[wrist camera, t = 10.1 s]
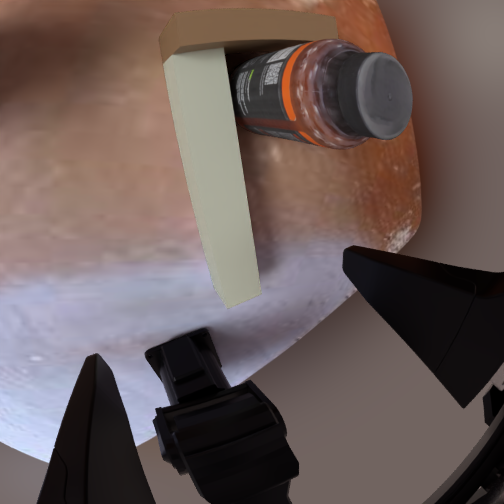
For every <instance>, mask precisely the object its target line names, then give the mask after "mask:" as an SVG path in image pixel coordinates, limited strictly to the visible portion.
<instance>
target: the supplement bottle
mask: <svg viewBox="0 0 504 504" xmlns="http://www.w3.org/2000/svg"><path fill="white" fill-rule="evenodd" d="M229 85H230V91H231V98H232V104H233V111H234V117H235V121H236V122H237V123H238V124H239V125H240V126H242V127H243V128H244V129H246V130H248V131H251V132H253V133H257V134H260V135H266V136H272V137H278V138H283V139H288V140H294V141H298V142H303V143H308V144H313V145H317V146H322V147H327V148H332V149H349V148H353V147H356V146H358V145H360V144H362V143H364V142H365V141H366V140H368V139H369V138H370V137H373V138H377V139H382V140H390V139H393V138H396V137H397V136H399V135H400V134H401V133H402V132H403V131H404V129H405V128H406V126H407V124H408V122H409V119H410V116H411V111H412V101H413V98H412V90H411V86H410V81H409V79H408V76H407V74H406V72H405V70H404V68H403V67H402V65H401V64H400V63H399V62H398V61H397V60H396V59H395V58H394V57H392V56H391V55H388V54H386V53H382V52H371V53H365V52H364V51H363V50H362V49H361V48H359V47H358V46H356V45H354V44H352V43H350V42H348V41H344V40H341V39H323V40H318V41H314V42H308V43H304V44H300V45H296V46H292V47H288V48H285V49H281V50H278V51H274V52H271V53H268V54H264V55H261V56H258V57H255V58H252V59H250V60H247V61H245V62H244V63H242V64H241V65H239V66H238V67H237V68H236V69H235V70H234V71H233V73H232V75H231V76H230V78H229Z"/></svg>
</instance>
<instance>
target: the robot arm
mask: <svg viewBox="0 0 504 504" xmlns="http://www.w3.org/2000/svg"><path fill="white" fill-rule="evenodd" d="M342 268H343V271H344V273H345V274H346V276H347V277H348V278H349V279H350V281H351V282H352V283H353V284H354V286H355V287H356V288H357V290H358V291H359V292H360V293H361V295H362V296H363V297H364V298H365V300H366V301H367V302H368V303H369V304H370V305H371V306H372V307H373V308H374V309H375V310H376V311H377V312H378V314H379V315H380V316H382V318H383V319H384V320H385V321H386V322H387V323H388V324H389V325H390V326H391V327H392V328H393V329H394V331H395V332H396V333H397V334H398V335H399V336H400V337H401V338H402V339H403V340H404V341H405V342H406V344H407V345H408V346H409V347H410V348H411V349H412V350H413V351H414V352H415V354H416V355H417V356H418V357H419V358H420V359H421V360H422V361H423V362H424V364H425V365H426V366H427V367H428V368H429V369H430V370H431V372H432V373H433V374H434V375H435V376H436V377H437V379H438V380H439V381H440V382H441V383H442V385H444V387H445V388H446V389H447V390H448V392H449V393H450V394H451V395H452V396H453V398H454V399H455V400H456V401H457V402H458V404H459V405H460V406H461V407H462V408H465V407H466V406H467V405H468V404H469V403H470V402H471V401H472V400H473V399H474V398H475V397H476V395H477V394H478V393H479V392H480V391H481V390H482V389H483V388H484V386H485V385H486V384H487V383H488V382H489V381H490V382H491V383H492V384H491V386H490V388H489V389H488V391H487V392H486V394H485V395H484V396H483V405H484V417H485V423H486V424H487V425H488V426H489V428H488V429H487V431H486V432H485V433H484V435H483V436H482V438H481V439H480V440H479V442H478V443H477V445H476V446H475V447H474V448H473V450H472V451H471V452H470V453H469V455H468V456H467V457H466V458H465V459H464V461H463V462H462V463H461V464H460V466H459V467H458V468H457V469H456V470H455V471H454V472H453V473H452V474H451V476H450V477H449V478H448V479H447V480H446V481H445V482H444V483H443V484H442V485H441V486H440V487H439V488H438V489H437V490H436V491H435V492H434V493H433V494H432V495H431V496H430V497H429V498H428V499H427V500H426V501H425V502H424V503H423V504H504V272H499V273H498V272H489V271H482V270H476V269H469V268H463V267H457V266H452V265H447V264H443V263H438V262H434V261H429V260H425V259H420V258H415V257H410V256H405V255H400V254H396V253H391V252H386V251H381V250H376V249H371V248H366V247H361V246H355V245H352V246H350V247H348V248H346V249H345V250H344V252H343V265H342ZM203 333H205V334H203ZM149 355H150V356H149ZM145 358H146V359H147V361H148V362H149V364H150V365H151V367H152V368H153V370H154V371H155V373H156V374H157V376H158V377H159V378H160V380H161V381H162V383H163V385H164V388H165V390H166V393H167V396H168V399H169V402H170V405H171V406H167V407H163V408H161V407H159V408H155V410H156V414H157V416H155V419H154V420H153V424H154V427H155V430H156V433H157V436H158V441H159V446H160V451H161V455H162V458H163V460H164V461H166V462H168V463H170V464H172V465H173V467H174V468H176V469H177V471H178V473H179V474H180V475H185V474H189V475H190V477H191V479H192V481H193V483H194V485H195V487H196V489H197V491H198V493H199V494H200V496H202V497H203V498H205V499H206V500H207V501H208V502H209V503H211V504H292V502H291V501H290V499H289V497H288V493H289V488H290V482H291V479H293V478H295V477H297V476H298V475H299V462H298V460H297V459H296V457H295V456H294V454H293V452H292V450H291V448H290V447H289V445H288V443H287V440H286V436H287V430H286V426H285V423H284V420H283V418H282V416H281V414H280V412H279V411H278V409H277V408H276V407H275V405H274V404H273V403H272V402H271V401H270V400H269V399H268V398H267V397H266V396H265V395H264V394H263V393H262V392H261V390H260V389H259V388H258V387H257V386H256V385H255V384H254V383H253V382H252V381H251V380H248V381H246V382H245V383H243V384H240V385H237V386H234V387H231V386H230V384H229V382H228V381H227V379H226V377H225V375H224V373H223V371H222V370H221V367H222V365H221V362H220V360H219V357H218V355H217V352H216V350H215V347H214V344H213V342H212V339H211V336H210V334H209V332H208V330H207V329H206V328H203V329H200V330H198V331H195V332H193V333H190V334H188V335H185V336H183V337H180V338H178V339H176V340H173V341H170V342H168V343H165V344H163V345H160V346H158V347H155V348H153V349H150V350H147V351H146V352H145ZM54 447H55V448H54V449H53V452H52V455H51V459H50V462H49V466H48V469H47V473H46V476H45V479H44V482H43V485H42V488H41V491H40V494H39V497H38V500H37V504H156V502H155V500H154V498H153V495H152V493H151V490H150V487H149V485H148V482H147V479H146V476H145V474H144V471H143V468H142V465H141V462H140V459H139V456H138V452H137V449H136V446H135V442H134V439H133V435H132V432H131V428H130V424H129V420H128V417H127V414H126V411H125V408H124V405H123V402H122V399H121V396H120V393H119V390H118V387H117V384H116V381H115V378H114V375H113V372H112V370H111V368H110V367H109V366H108V365H107V363H106V362H105V361H104V360H103V358H102V357H101V356H100V355H99V354H98V353H95V354H93V355H90V356H88V357H86V359H85V362H84V364H83V366H82V369H81V371H80V374H79V376H78V379H77V381H76V384H75V386H74V389H73V392H72V394H71V397H70V400H69V402H68V405H67V408H66V411H65V414H64V417H63V420H62V423H61V426H60V429H59V432H58V435H57V438H56V442H55V445H54ZM480 486H481V488H480V489H479V487H480ZM478 489H479V490H478Z"/></svg>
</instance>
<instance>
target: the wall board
mask: <svg viewBox="0 0 504 504" xmlns="http://www.w3.org/2000/svg"><path fill="white" fill-rule="evenodd" d="M323 39H339V38H338V31H337V25H336V19H335V17H333V16H327V15H321V14H315V13H307V12H299V11H289V10H277V9H255V8H229V9H208V10H196V11H186V12H178V13H175V14H174V15H173V16H172V18H171V19H170V21H169V22H168V24H167V26H166V27H165V29H164V30H163V32H162V33H161V35H160V37H159V42H160V48H161V55H162V61H163V67H164V72H165V78H166V84H167V89H168V95H169V100H170V105H171V110H172V115H173V120H174V125H175V130H176V135H177V140H178V145H179V149H180V154H181V158H182V163H183V167H184V172H185V176H186V180H187V185H188V189H189V193H190V197H191V202H192V206H193V210H194V214H195V218H196V222H197V226H198V230H199V234H200V238H201V241H202V245H203V249H204V253H205V257H206V260H207V264H208V268H209V271H210V275H211V279H212V282H213V286H214V289H215V290H216V292H217V293H218V295H219V296H220V298H221V300H222V301H223V303H224V304H225V306H226V307H227V309H229V308H231V307H234V306H236V305H238V304H240V303H243V302H245V301H247V300H250V299H252V298H254V297H256V296H259V295H261V294H262V293H261V286H260V279H259V273H258V266H257V260H256V253H255V247H254V240H253V233H252V227H251V220H250V214H249V207H248V201H247V194H246V188H245V181H244V175H243V168H242V162H241V155H240V149H239V143H238V136H237V130H236V123H235V117H234V111H233V104H232V98H231V91H230V85H229V79H228V72H227V66H226V60H225V54H234V53H248V52H270V51H278V50H281V49H285V48H288V47H292V46H296V45H300V44H304V43H308V42H314V41H318V40H323Z"/></svg>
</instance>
